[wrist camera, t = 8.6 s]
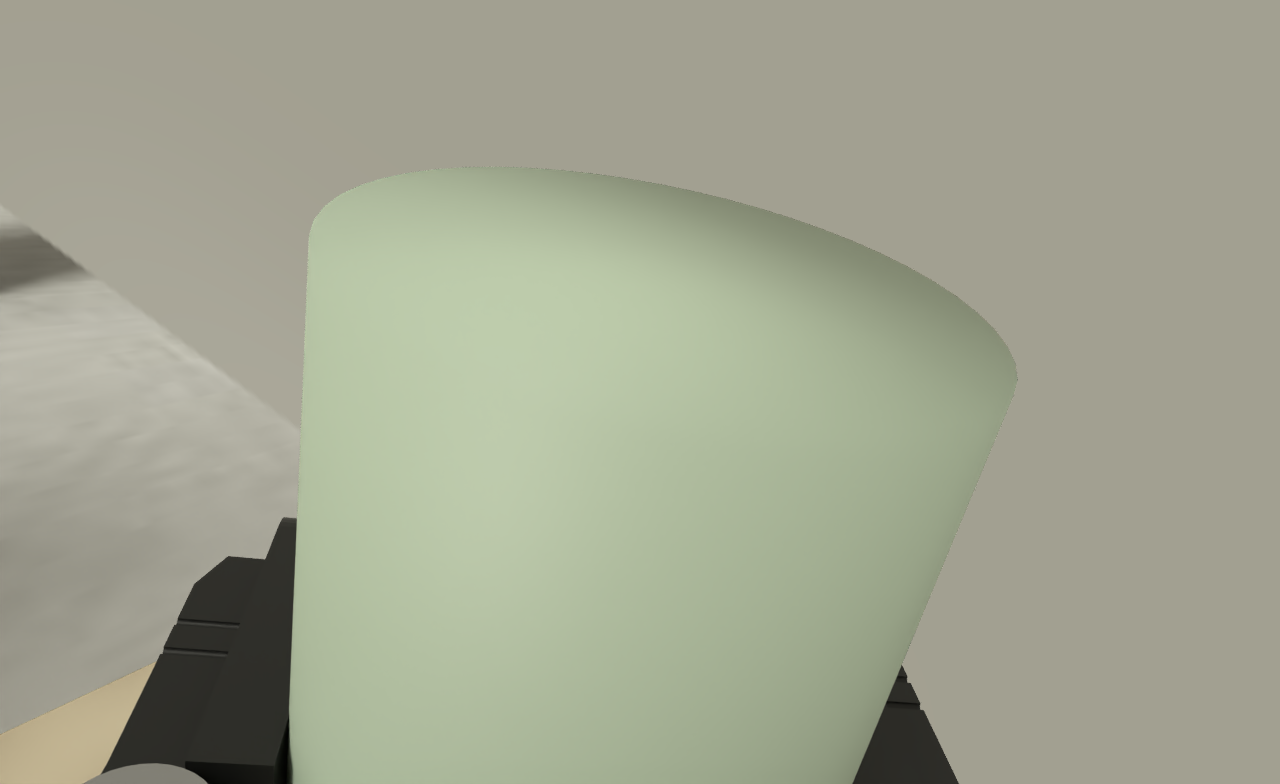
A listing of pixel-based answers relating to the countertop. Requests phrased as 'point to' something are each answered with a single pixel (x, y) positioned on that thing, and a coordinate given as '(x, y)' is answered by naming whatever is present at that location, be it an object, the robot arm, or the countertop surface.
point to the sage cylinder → (616, 483)
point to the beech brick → (71, 736)
